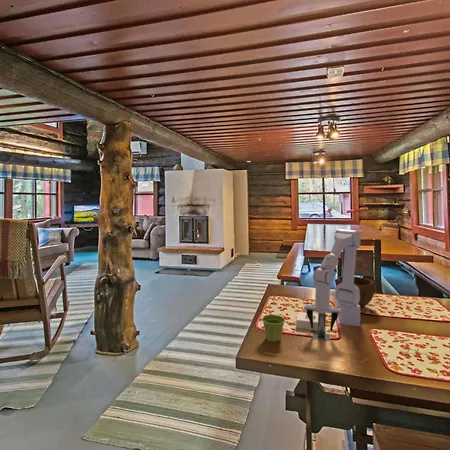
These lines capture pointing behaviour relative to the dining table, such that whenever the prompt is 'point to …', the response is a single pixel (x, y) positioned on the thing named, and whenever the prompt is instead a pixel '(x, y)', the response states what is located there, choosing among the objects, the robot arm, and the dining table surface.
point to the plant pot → (273, 327)
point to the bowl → (362, 289)
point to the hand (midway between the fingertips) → (321, 328)
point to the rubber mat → (327, 338)
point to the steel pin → (321, 324)
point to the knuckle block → (306, 321)
